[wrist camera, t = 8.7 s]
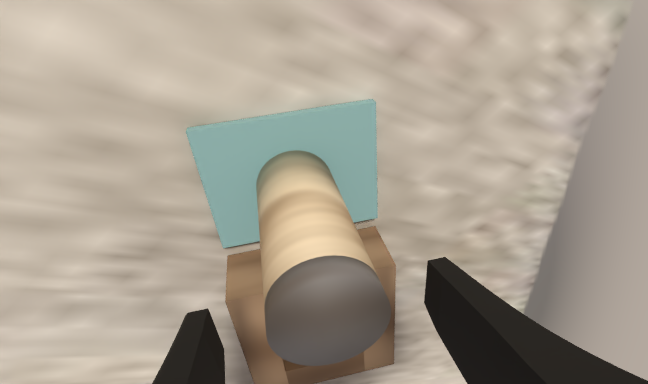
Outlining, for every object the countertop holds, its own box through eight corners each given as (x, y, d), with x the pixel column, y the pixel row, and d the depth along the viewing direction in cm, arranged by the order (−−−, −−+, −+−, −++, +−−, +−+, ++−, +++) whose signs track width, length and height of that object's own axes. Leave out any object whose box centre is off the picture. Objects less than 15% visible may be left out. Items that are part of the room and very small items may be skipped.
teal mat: (374, 213, 21) (377, 217, 21) (223, 242, 20) (223, 248, 20) (372, 98, 18) (375, 101, 17) (186, 127, 17) (185, 131, 16)
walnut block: (377, 321, 27) (393, 363, 24) (257, 348, 26) (259, 397, 23) (375, 226, 22) (395, 264, 19) (227, 255, 21) (225, 301, 18)
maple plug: (335, 208, 20) (391, 349, 12) (264, 223, 20) (278, 377, 12) (328, 144, 18) (390, 265, 10) (248, 158, 18) (253, 296, 10)
